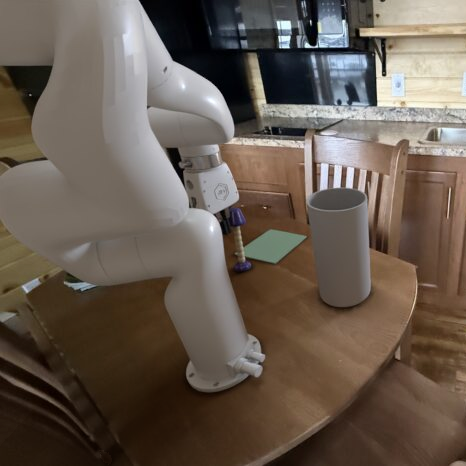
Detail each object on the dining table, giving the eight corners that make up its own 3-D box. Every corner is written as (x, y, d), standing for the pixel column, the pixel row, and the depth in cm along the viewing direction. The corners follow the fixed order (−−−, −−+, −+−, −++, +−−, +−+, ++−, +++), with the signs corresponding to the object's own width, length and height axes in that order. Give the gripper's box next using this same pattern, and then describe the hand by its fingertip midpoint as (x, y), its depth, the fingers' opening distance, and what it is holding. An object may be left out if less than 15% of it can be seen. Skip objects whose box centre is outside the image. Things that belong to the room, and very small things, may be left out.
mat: (306, 237, 101) (306, 236, 101) (274, 264, 88) (274, 263, 87) (270, 230, 105) (270, 229, 104) (234, 255, 91) (234, 253, 91)
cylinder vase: (309, 299, 75) (293, 203, 63) (339, 271, 85) (330, 184, 73) (353, 315, 71) (345, 216, 58) (379, 284, 81) (377, 193, 68)
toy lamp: (228, 269, 84) (218, 210, 78) (242, 262, 88) (233, 205, 82) (243, 272, 83) (234, 213, 77) (256, 265, 87) (248, 208, 81)
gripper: (186, 173, 62) (212, 251, 71) (241, 153, 74) (257, 222, 83) (157, 169, 64) (187, 245, 73) (216, 150, 76) (234, 217, 85)
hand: (224, 232), depth 78 cm, fingers closed
